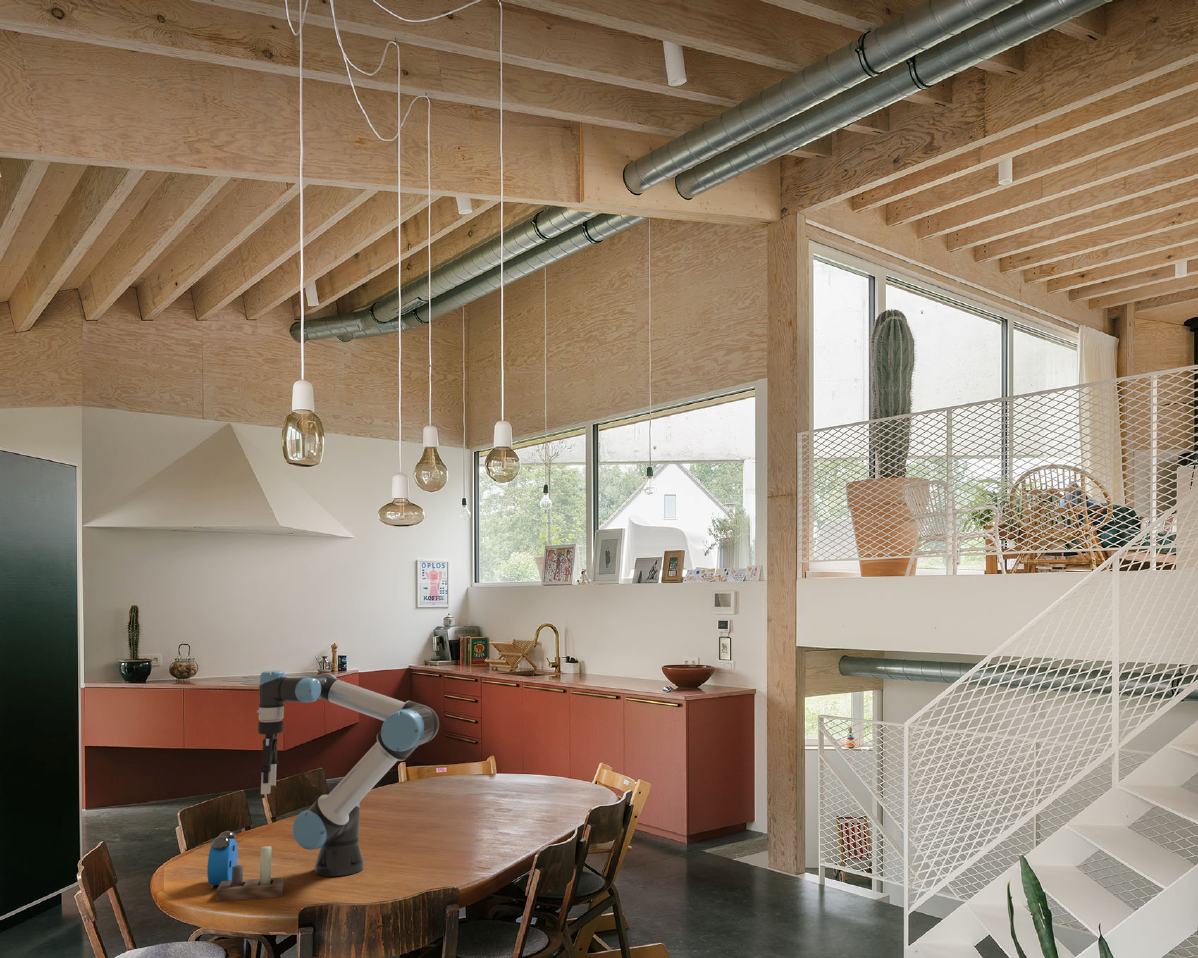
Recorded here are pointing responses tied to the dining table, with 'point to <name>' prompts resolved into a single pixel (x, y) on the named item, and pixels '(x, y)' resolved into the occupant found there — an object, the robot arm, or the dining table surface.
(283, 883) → the walnut holder
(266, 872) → the sage candle
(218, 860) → the alarm clock
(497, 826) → the dining table surface
